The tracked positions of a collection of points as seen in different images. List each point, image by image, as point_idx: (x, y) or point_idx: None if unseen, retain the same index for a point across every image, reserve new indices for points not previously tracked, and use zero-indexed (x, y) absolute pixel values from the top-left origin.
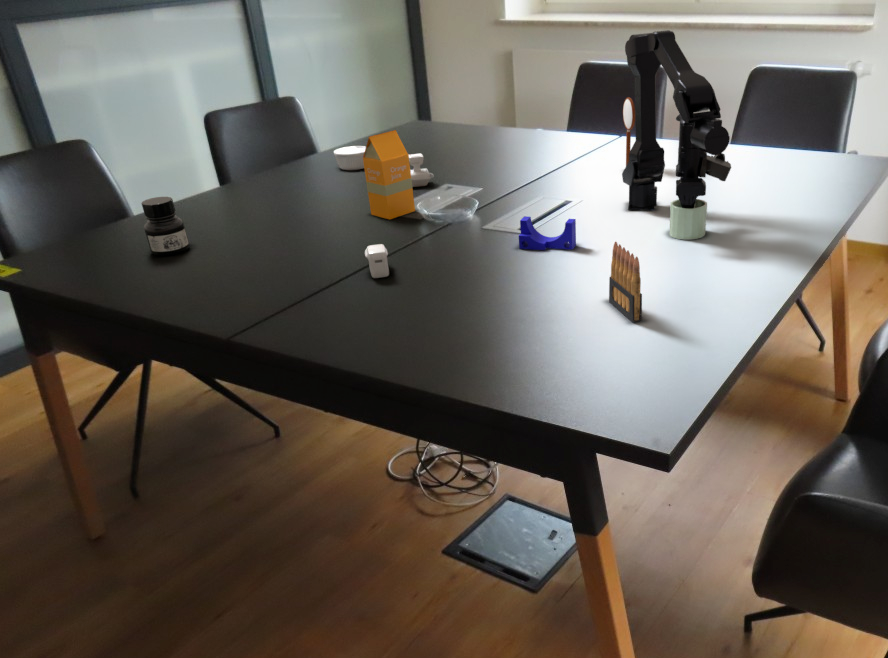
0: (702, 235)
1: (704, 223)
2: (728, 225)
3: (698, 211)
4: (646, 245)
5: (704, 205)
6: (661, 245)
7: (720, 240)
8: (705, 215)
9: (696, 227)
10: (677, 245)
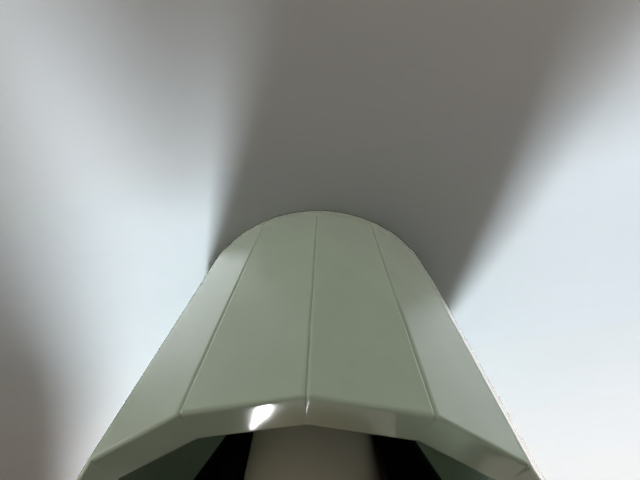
0: (368, 223)
1: (358, 256)
2: (10, 55)
3: (508, 424)
4: (538, 462)
5: (376, 424)
6: (541, 406)
7: (428, 63)
8: (351, 296)
9: (443, 302)
10: (545, 335)
